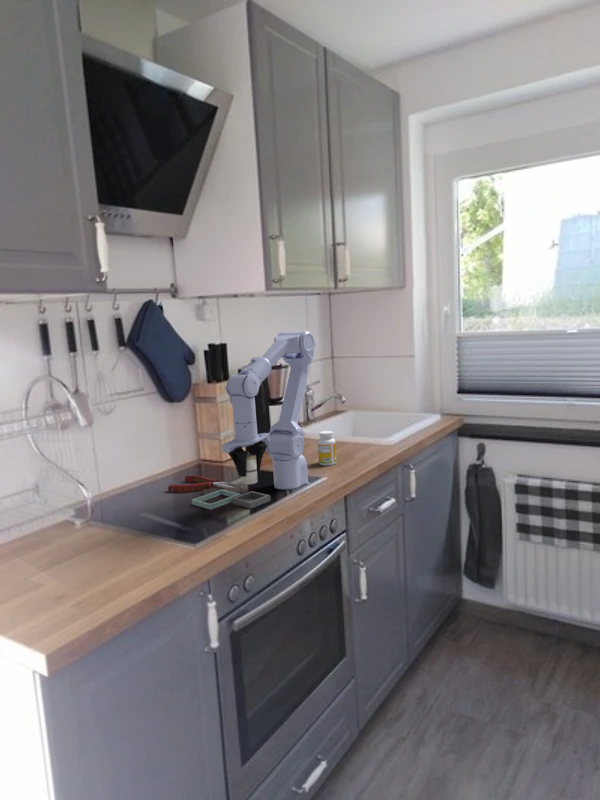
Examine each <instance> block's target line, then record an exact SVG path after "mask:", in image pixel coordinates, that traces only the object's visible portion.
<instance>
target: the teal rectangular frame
mask: <svg viewBox="0 0 600 800" xmlns="http://www.w3.org/2000/svg"><path fill="white" fill-rule="evenodd" d="M239 495H242V494H241V493H238V492H235V491H230V490H226V489H219V490H216V491H213V492H210V493H206V494H204V495H202V496H198V497H194V498H192V499H191V505H194V506H195V507H196V506H197V507H200V508H203V509H206V510H207V509H208V510H214V509H216V508H219V507H221V506H224V505H228V504H231V503H232V498H234V497H237V496H239ZM219 496H226V498H224V499H220V500H218V501H215V502H212V503H208V502H205V501H207V500H212V499H214V498H216V497H219Z"/></svg>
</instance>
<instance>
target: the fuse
mask: <svg viewBox="0 0 600 800" xmlns="http://www.w3.org/2000/svg"><path fill="white" fill-rule="evenodd" d="M241 483H242V485H254V484H257V483H258V472H257V464H256V454H249V453H248V454H247V460H246V477H241Z"/></svg>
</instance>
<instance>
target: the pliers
mask: <svg viewBox="0 0 600 800" xmlns="http://www.w3.org/2000/svg"><path fill="white" fill-rule="evenodd" d="M184 482H185V483H187V484H169V485H168V486H167V491H168V492H169V493H176V494H177V493H178V494H180V493H181V494H182V493H191V492H201V491H204V490H207V489H212V488H213V487H215V488H224V489H236V487H234V486H241V484H240V483H234V482H233V483H232V482H226V481H221V480H220V479H218V478H214V479H211V478H208V477H204V476H201V475H186V476H185V477H184Z"/></svg>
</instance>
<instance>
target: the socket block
mask: <svg viewBox="0 0 600 800" xmlns="http://www.w3.org/2000/svg"><path fill="white" fill-rule="evenodd" d="M269 502H271V495H270V494H265V493H262V492H257V491H253V490H251V491H248V492H246V493H242V494H241V495H239V496H237V497H234V498H232V502H231V504H233V505H237V506H240V507H242V508H243V507H244V508H246V509H247V508H248V509H253V508H256V507H259V506H261V505H264V504H266V503H269Z"/></svg>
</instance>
